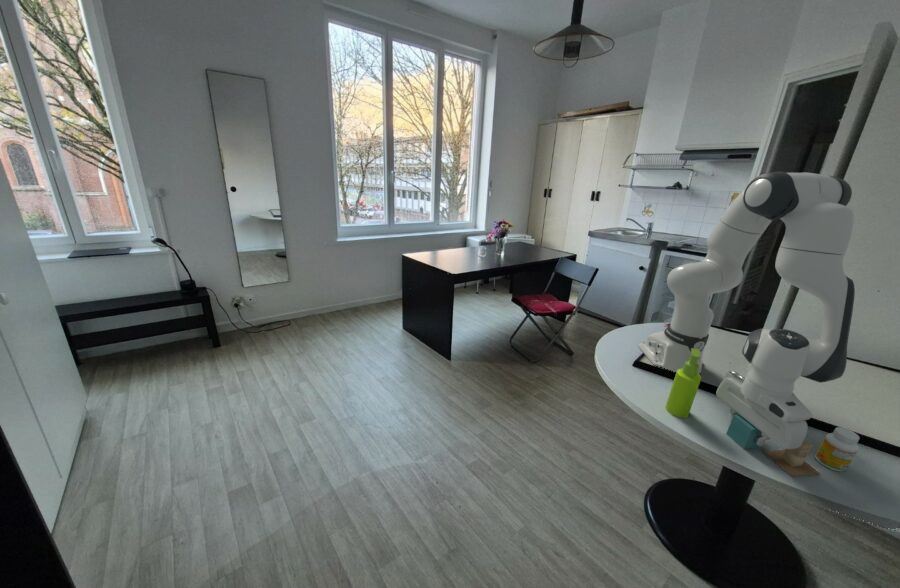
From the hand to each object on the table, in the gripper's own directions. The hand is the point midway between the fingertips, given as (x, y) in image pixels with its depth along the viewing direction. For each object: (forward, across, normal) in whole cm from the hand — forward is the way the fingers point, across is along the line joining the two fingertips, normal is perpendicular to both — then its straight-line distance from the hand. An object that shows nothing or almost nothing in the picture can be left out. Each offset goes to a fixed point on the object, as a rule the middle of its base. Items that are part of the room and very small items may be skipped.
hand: (746, 433), depth 90 cm
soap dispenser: (+2, -13, -9) cm, 16 cm away
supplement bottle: (+2, +9, +15) cm, 18 cm away
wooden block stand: (+2, +8, +5) cm, 10 cm away
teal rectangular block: (+2, 0, 0) cm, 2 cm away
